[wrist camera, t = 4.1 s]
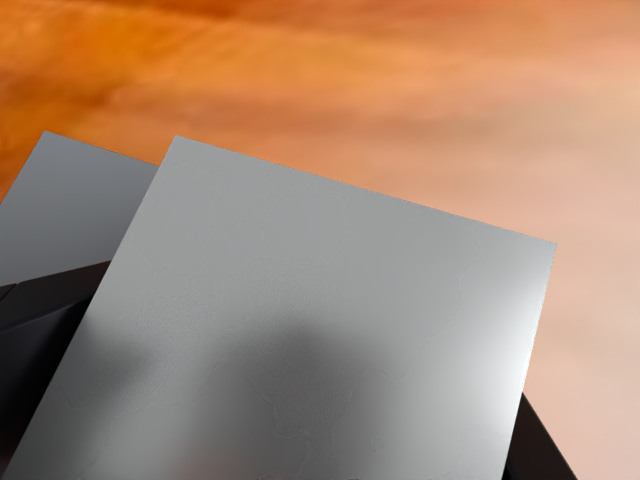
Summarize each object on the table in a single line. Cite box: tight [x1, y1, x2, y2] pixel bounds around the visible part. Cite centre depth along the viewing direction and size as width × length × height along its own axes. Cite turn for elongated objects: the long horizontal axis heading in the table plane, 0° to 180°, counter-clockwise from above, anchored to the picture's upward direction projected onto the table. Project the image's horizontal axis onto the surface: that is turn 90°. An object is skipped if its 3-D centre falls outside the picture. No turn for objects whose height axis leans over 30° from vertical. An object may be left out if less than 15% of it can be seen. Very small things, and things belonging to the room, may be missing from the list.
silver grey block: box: [1, 135, 557, 480], centre depth 10 cm, size 6×6×10 cm
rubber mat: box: [0, 131, 160, 286], centre depth 17 cm, size 12×12×1 cm
